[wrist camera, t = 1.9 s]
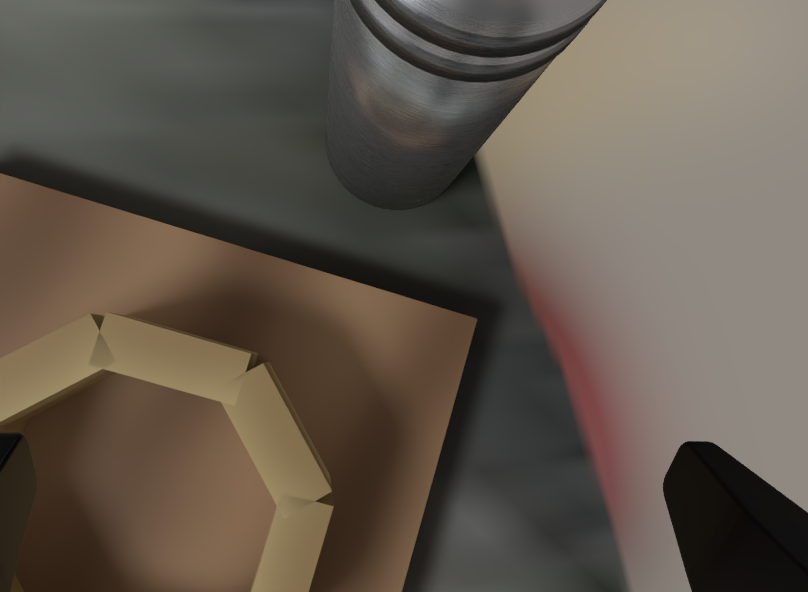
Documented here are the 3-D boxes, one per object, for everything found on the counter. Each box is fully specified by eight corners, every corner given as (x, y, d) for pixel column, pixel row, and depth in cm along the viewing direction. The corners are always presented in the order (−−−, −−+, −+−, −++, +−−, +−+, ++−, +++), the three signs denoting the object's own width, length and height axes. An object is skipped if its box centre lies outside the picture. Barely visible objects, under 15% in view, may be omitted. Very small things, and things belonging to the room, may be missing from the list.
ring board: (468, 320, 22) (499, 314, 19) (327, 828, 21) (330, 930, 17) (-27, 169, 21) (-99, 131, 17) (-229, 707, 19) (-358, 793, 15)
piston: (480, 98, 23) (691, -216, 10) (443, 229, 23) (615, 69, 10) (347, 53, 23) (394, -337, 10) (306, 186, 22) (297, -43, 9)
